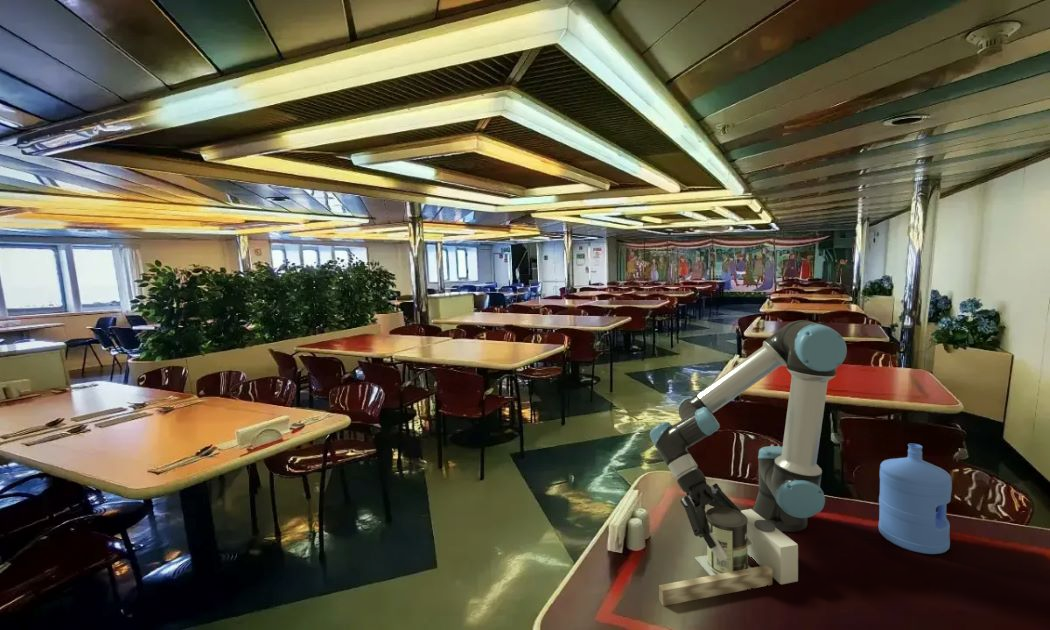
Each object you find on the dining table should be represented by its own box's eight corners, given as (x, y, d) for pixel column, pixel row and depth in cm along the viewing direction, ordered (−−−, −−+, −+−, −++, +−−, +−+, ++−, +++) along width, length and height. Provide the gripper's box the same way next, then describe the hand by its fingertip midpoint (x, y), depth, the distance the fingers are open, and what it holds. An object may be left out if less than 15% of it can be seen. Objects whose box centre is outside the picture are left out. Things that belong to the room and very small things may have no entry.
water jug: (889, 549, 126) (891, 453, 124) (871, 520, 141) (872, 433, 138) (961, 560, 120) (965, 459, 118) (934, 528, 135) (937, 438, 132)
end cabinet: (751, 541, 134) (750, 506, 133) (797, 581, 116) (797, 542, 115) (689, 551, 130) (688, 517, 129) (727, 595, 113) (726, 555, 112)
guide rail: (766, 579, 117) (766, 565, 117) (772, 584, 115) (772, 569, 115) (659, 600, 112) (659, 585, 112) (663, 605, 110) (662, 590, 110)
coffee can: (742, 554, 126) (741, 507, 125) (753, 579, 116) (752, 528, 115) (703, 552, 129) (702, 505, 127) (710, 576, 119) (709, 525, 117)
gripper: (705, 468, 140) (753, 541, 128) (652, 490, 128) (700, 572, 116) (720, 458, 134) (772, 532, 122) (666, 479, 123) (717, 563, 111)
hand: (737, 552), depth 119 cm, fingers closed on coffee can, 10 cm apart
